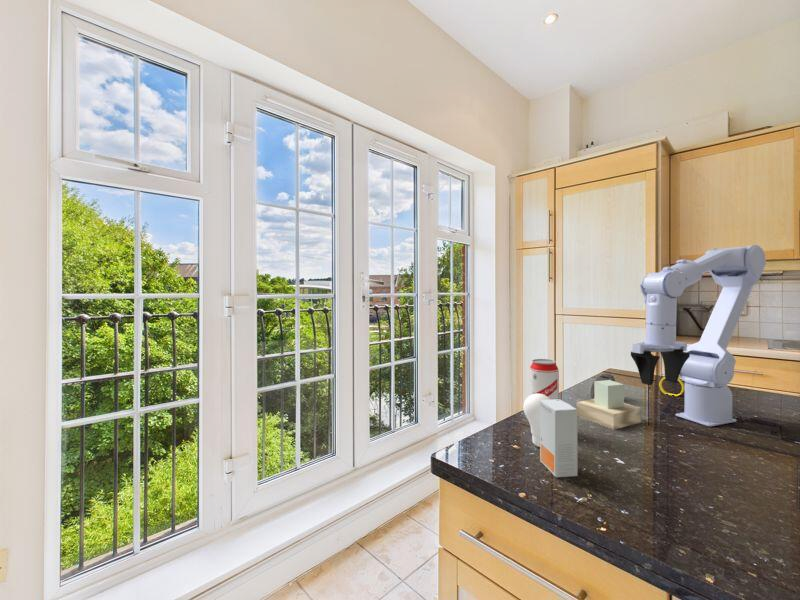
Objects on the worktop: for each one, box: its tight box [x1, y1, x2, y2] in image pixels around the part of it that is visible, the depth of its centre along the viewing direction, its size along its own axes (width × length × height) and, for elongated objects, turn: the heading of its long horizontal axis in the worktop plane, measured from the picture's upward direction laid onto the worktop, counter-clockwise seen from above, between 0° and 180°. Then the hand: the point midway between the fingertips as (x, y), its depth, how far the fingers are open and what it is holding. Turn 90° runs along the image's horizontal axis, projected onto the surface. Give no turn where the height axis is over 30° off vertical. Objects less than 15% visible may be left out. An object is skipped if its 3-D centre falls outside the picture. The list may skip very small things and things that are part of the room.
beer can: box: [529, 358, 560, 400], centre depth 85 cm, size 6×6×16 cm
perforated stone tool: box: [589, 373, 616, 399], centre depth 105 cm, size 15×5×7 cm, turn 136°
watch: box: [658, 376, 685, 397], centre depth 110 cm, size 6×3×6 cm, turn 41°
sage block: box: [593, 380, 625, 409], centre depth 91 cm, size 4×4×6 cm
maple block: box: [575, 398, 642, 431], centre depth 91 cm, size 10×10×4 cm
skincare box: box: [539, 399, 579, 478], centre depth 67 cm, size 6×4×12 cm
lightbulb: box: [522, 394, 551, 448], centre depth 76 cm, size 6×6×11 cm
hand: (659, 383), depth 85 cm, fingers open, 7 cm apart
